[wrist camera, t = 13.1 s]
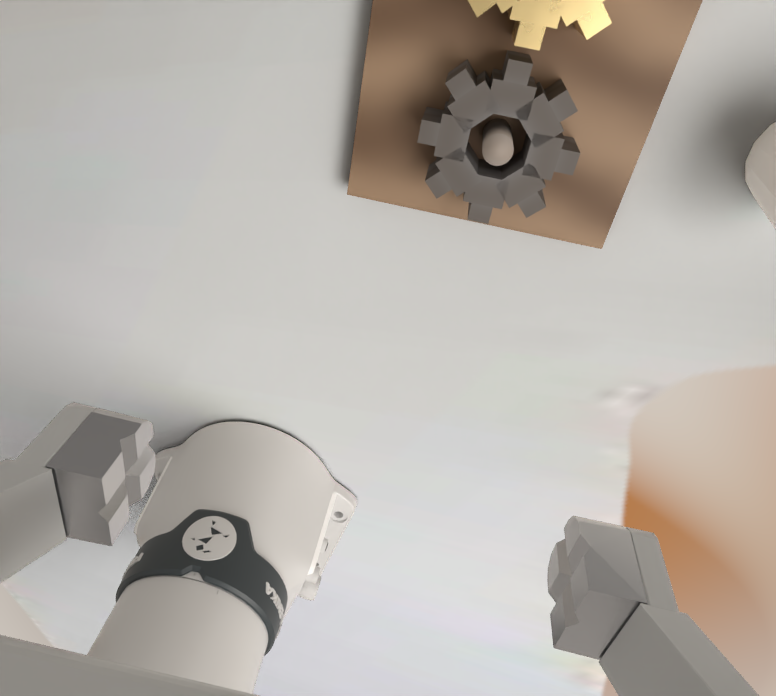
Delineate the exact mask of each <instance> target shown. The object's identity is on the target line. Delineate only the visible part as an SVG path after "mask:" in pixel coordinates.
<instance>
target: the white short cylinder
mask: <svg viewBox="0 0 776 696" xmlns="http://www.w3.org/2000/svg"><path fill="white" fill-rule="evenodd" d="M745 181H746V183H747V185H748V187H749V189H750V191H751V193H752V195H753V197H754V198H755V200H756V201H757V203H758V204H759V205H760V207H761V208H762V210H763V211H764V213H765V214H766V216H767V217H768V219H769V220H770V222H771V223H772V225H773V226H774V228H775V229H776V122H774V123H773V124H771V125H770V126H769V127H768V128H767V129H766V130H765V131H764V132H763V133H762V134H761V135H760V137H759V138H758V139H757V140H756V141H755V142H754V144H753V146H752V148H751V150H750V153H749V155H748V157H747V159H746V162H745Z"/></svg>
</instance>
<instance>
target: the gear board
mask: <svg viewBox="0 0 776 696" xmlns="http://www.w3.org/2000/svg"><path fill="white" fill-rule="evenodd" d="M701 3H702V0H604V1H603V4H604V7H605V9H606V11H607V13H608V15H609V17H610V20H611V22H612V23H611V24H610V25H608V26H607V27H605V28H604V29H602V30H601V31H599V32H598V33H597V34H595V35H594V36H592V37H591V38H589V39H588V40H586V39H585V38H584V37H583V36H582V35H581V34H580V33H579V32H578V31H577V30H576V28H575V26H574V24H573V23H571V24H570V25H568V26H567V27H566V26H565V25H564V24H563V23H562V21H561V20H559V24H558V27H557V29H555V28H550V27H546V29H545V33H544V36H543V40H542V43H541V47H540V50H534V49H529V48H524V47H520V46H515V45H514V43H513V39H512V31H513V27H514V23H515V20H511V19H509V16H508V12H507V11H508V10H506V11H505V12H504V13H502V12H501V10H500V9H499V7H498V5H497V3H496V4H495V5H493V6H492V7H491V8H489V9H488V10H487V11H485V12H484V13H483V14H481V15H480V16H479V17H477V16H476V14H475V12H474V11H473V9H472V7H471V5H470V3H469V2H468V0H373V3H372V10H371V18H370V25H369V33H368V40H367V48H366V55H365V63H364V70H363V78H362V86H361V93H360V101H359V108H358V116H357V123H356V131H355V138H354V146H353V153H352V161H351V168H350V176H349V183H348V191H347V195H352V196H357V197H361V198H366V199H371V200H375V201H380V202H385V203H389V204H394V205H399V206H403V207H408V208H413V209H417V210H422V211H427V212H431V213H436V214H441V215H445V216H450V217H455V218H459V219H464V220H469V221H473V222H478V223H483V224H487V225H492V226H497V227H501V228H506V229H511V230H516V231H520V232H525V233H530V234H534V235H539V236H544V237H548V238H553V239H558V240H562V241H567V242H572V243H576V244H581V245H586V246H590V247H595V248H600V249H602V247H603V244H604V242H605V239H606V237H607V234H608V232H609V229H610V227H611V224H612V222H613V219H614V217H615V215H616V212H617V210H618V207H619V205H620V202H621V200H622V197H623V195H624V192H625V190H626V187H627V185H628V183H629V180H630V178H631V175H632V173H633V170H634V168H635V165H636V163H637V160H638V158H639V155H640V153H641V150H642V148H643V146H644V143H645V141H646V138H647V136H648V133H649V131H650V128H651V126H652V123H653V121H654V118H655V116H656V114H657V111H658V109H659V106H660V104H661V101H662V99H663V96H664V94H665V91H666V89H667V86H668V84H669V82H670V79H671V77H672V74H673V72H674V69H675V67H676V64H677V62H678V59H679V57H680V54H681V52H682V50H683V47H684V45H685V42H686V40H687V37H688V35H689V32H690V30H691V27H692V25H693V22H694V20H695V17H696V15H697V13H698V10H699V8H700V5H701Z"/></svg>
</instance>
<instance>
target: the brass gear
mask: <svg viewBox="0 0 776 696" xmlns="http://www.w3.org/2000/svg"><path fill="white" fill-rule="evenodd" d="M603 1H604V0H468V2H469V3H470V5H471V7H472V9H473V11H474V12H475V14H476V16H477V17H479V16H480V15H481V14H483V13H484V12H485V11H487V10H488V9H489V8H491V7H492V6H493V5H495V4H496V3H497V5H498V7H499V9H500V10H501V12H502V13H504V12H505V11H506V10H508V11H507V12H508V16H509V19H511V20H515V23H514V27H513V31H512V39H513V43H514V45H515V46H520V47H524V48H529V49H534V50H540V47H541V43H542V40H543V36H544V33H545V29H546V27H550V28H555V29H557V27H558V24H559V20H561V21H562V23H563V24H564V25H565V26H566V27H567V26H568V25H570V24H571V23H573V24H574V26H575V28H576V30H577V31H578V32H579V33H580V34H581V35H582V36H583V37H584V38H585V39H586V40H588V39H589V38H591V37H592V36H594V35H595V34H597V33H598V32H599V31H601V30H602V29H604V28H605V27H607V26H608V25H610V24H611V23H612V22H611V20H610V17H609V15H608V13H607V11H606V9H605V7H604V4H603Z"/></svg>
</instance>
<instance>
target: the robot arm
mask: <svg viewBox="0 0 776 696" xmlns="http://www.w3.org/2000/svg"><path fill="white" fill-rule="evenodd" d="M153 436H154V433H153V425H152V422H150V421H148V420H144V419H140V418H136V417H132V416H128V415H124V414H120V413H116V412H112V411H109V410H105V409H101V408H95V407H91V406H87V405H83V404H79V403H75V402H73V403H71V404H69V405H67V406H65V407H64V408H63V409H62V410H61V411H60V412H59V413H58V415H57V416H56V417H55V418H54V419H53V420H52V421H51V422H50V423H49V424H48V425H47V426H46V427H45V429H44V430H43V431H42V432H41V433H40V434H39V435H38V436H37V437H36V438H35V439H34V440H33V441H32V443H31V444H30V445H29V446H28V447H27V448H26V449H25V450H24V451H23V452H22V453H21V454H20V455H19V456H18V458H17V459H16V460H10V459H6V460H3V461H1V462H0V583H1V582H3V581H4V580H6V579H7V578H9V577H10V576H12V575H14V574H15V573H17V572H18V571H20V570H21V569H23V568H24V567H26V566H27V565H29V564H30V563H32V562H33V561H35V560H37V559H38V558H40V557H41V556H43V555H44V554H46V553H47V552H49V551H50V550H52V549H53V548H55V547H56V546H58V545H60V544H61V543H63V542H64V541H66V540H67V538H66V537H69V538H74V539H79V540H84V541H89V542H94V543H99V544H104V545H108V546H112V545H113V544H114V542H115V541H116V539H117V537H118V536H119V534H120V533H121V531H122V530H123V528H124V526H125V525H126V523H127V522H128V520H129V519H130V513H129V506H130V505H132V504H134V503H136V502H138V501H140V500H141V499H142V498H143V496H144V495H145V493H146V491H147V490H148V488H149V485H150V483H151V480H152V477H153V475H154V474H155V477H156V480H157V484H156V486H155V487H154V489H153V491H152V493H151V495H150V497H149V499H148V501H147V503H146V505H145V507H144V509H143V511H142V513H141V515H140V517H139V519H138V520H137V523H136V525H135V528H134V533H135V534H136V535H137V542H138V544H139V546H140V549H139V551H138V553H137V554H136V556H135V558H134V559H133V560H132V561H131V563H130V564H129V566H128V567H127V569H126V571H125V573H124V575H123V578H122V582H121V584H120V586H119V588H118V590H117V593H116V605H115V606H114V608H113V610H112V612H111V613H110V615H109V617H108V619H107V620H106V622H105V624H104V626H103V627H102V629H101V631H100V633H99V635H98V636H97V638H96V640H95V642H94V643H93V645H92V647H91V649H90V650H89V652H88V654H87V655H84V654H80V653H75V652H71V651H67V650H63V649H58V648H54V647H50V646H45V645H41V644H37V643H32V642H28V641H24V640H20V639H15V638H11V637H7V636H3V635H0V696H259V695H255V694H253V691H254V688H255V684H256V681H257V677H258V674H259V670H260V667H261V664H262V661H263V657H264V656H265V655H266V654H267V653H268V652H269V651H270V649H271V648H272V646H273V644H274V641H275V639H276V638H277V636H278V634H279V632H280V629H281V626H282V623H283V619H284V617H285V616H286V614H287V613H288V611H289V609H290V607H291V606H292V604H293V602H294V600H295V599H296V597H297V596H298V595H299V597H302V598H304V599H307V600H310V601H312V600H314V599H315V596H316V594H317V591H318V588H319V584H320V581H321V574H322V572H323V570H324V568H325V566H326V564H327V563H328V561H329V559H330V557H331V555H332V553H333V551H334V549H335V548H336V546H337V544H338V542H339V540H340V538H341V536H342V534H343V533H344V531H345V529H346V527H347V525H348V523H349V521H350V519H351V518H352V516H353V514H354V512H355V509H356V506H357V499H356V497H355V496H354V495H353V494H352V493H351V492H350V491H348V490H347V489H346V488H344V487H343V486H342V485H340V484H339V483H337V482H336V481H335V480H334V479H333V478H332V476H331V475H330V473H329V472H328V470H327V469H326V467H325V466H324V464H323V463H322V462H321V460H320V459H319V458H318V457H317V456H316V455H315V454H314V453H313V452H312V451H311V450H310V449H309V448H308V447H306V446H305V445H304V444H302V443H301V442H300V441H298V440H296V439H295V438H293V437H291V436H289V435H288V434H286V433H283V432H281V431H279V430H276V429H274V428H271V427H268V426H264V425H260V424H255V423H249V422H222V423H217V424H213V425H209V426H207V427H204V428H202V429H200V430H198V431H197V432H195V433H194V434H193V435H191V436H190V437H189V438H188V439H187V440H186V441H185V442H184V443H183V444H181V445H179V446H177V447H173V448H169V449H165V450H162V451H160V452H158V453H157V454H156V456H155V452H154V450H153V449H152V448H151V447H150V445H149V442H150V441H151V439H152V438H153ZM564 532H565V539H564V540H562V541H560V542H558V543H556V545H555V547H554V549H553V551H552V554H551V557H550V561H549V566H548V579H547V581H548V592H549V594H550V595H551V597H552V598H553V599H554V601H555V602H556V605H555V607H554V608H553V610H552V612H551V614H550V616H551V626H552V636H553V647H554V648H556V649H560V650H564V651H567V652H571V653H575V654H579V655H583V656H587V657H591V658H594V659H598V660H600V661H599V663H600V665H601V667H602V668H603V670H604V672H605V674H606V675H607V677H608V679H609V680H610V682H611V684H612V685H613V687H614V688H615V690H616V692H617V694H618V695H619V696H759V695H758V694H757V693H756V691H755V690H754V689H753V688H752V687H751V686H750V685H749V684H748V682H747V681H746V680H745V679H744V678H743V677H742V676H741V674H739V672H738V671H737V670H736V669H735V668H734V667H733V665H732V664H731V663H730V662H729V661H728V660H727V659H726V657H725V656H724V655H723V654H722V653H721V652H720V651H719V650H718V649H717V647H716V646H715V645H714V644H713V643H712V642H711V641H710V640H709V638H708V637H707V636H706V635H705V634H704V633H703V631H702V630H701V629H700V628H699V627H698V626H697V625H696V624H695V622H694V621H693V620H692V619H691V618H690V617H689V615H687V614H685V613H681V612H679V610H678V607H677V604H676V600H675V596H674V593H673V590H672V586H671V583H670V579H669V576H668V573H667V569H666V566H665V562H664V559H663V556H662V552H661V549H660V545H659V542H658V538H657V537H656V536H655V534H654V533H651V532H646V531H642V530H637V529H632V528H628V527H623V526H619V525H615V524H610V523H605V522H601V521H596V520H591V519H587V518H582V517H577V516H572V517H571V518H570V519H569V520H568V522H567V524H566V526H565V527H564Z"/></svg>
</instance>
